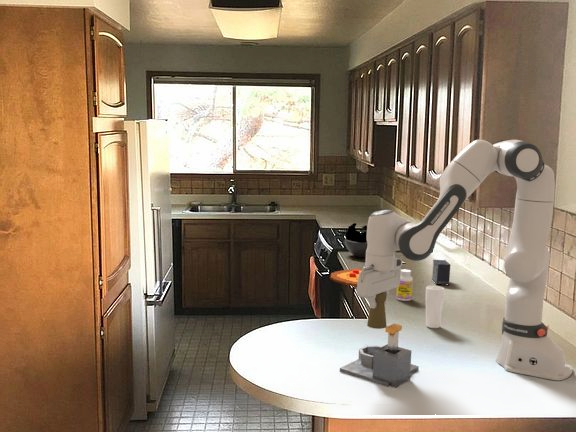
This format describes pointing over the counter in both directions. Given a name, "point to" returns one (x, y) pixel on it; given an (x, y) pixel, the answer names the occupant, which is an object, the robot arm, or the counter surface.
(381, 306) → the cork
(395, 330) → the wedge pin
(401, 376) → the gray socket base
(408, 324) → the counter surface
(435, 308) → the drinking glass
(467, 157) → the robot arm
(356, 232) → the coal bowl
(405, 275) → the supplement bottle
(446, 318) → the counter surface
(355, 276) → the pizza
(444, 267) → the small box
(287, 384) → the counter surface
